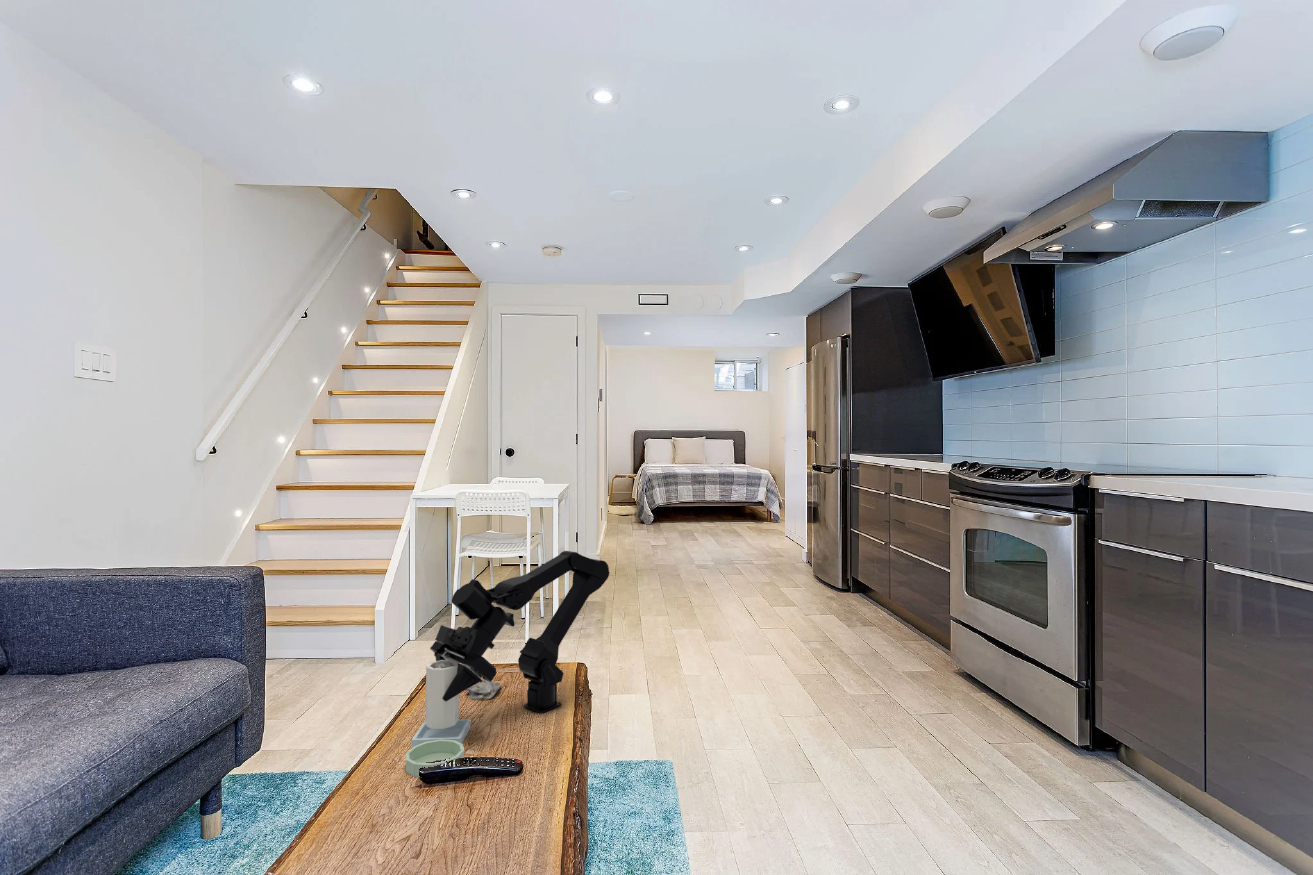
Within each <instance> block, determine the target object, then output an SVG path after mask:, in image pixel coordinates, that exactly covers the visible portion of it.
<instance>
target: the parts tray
mask: <svg viewBox="0 0 1313 875" xmlns="http://www.w3.org/2000/svg"><path fill="white" fill-rule="evenodd" d="M471 721H472V720H471V718H465V719H462V718H461V719H460V718H459V720H458V722H457V723H456V725H454V726H451V727H448V728H445V729H431V728H429V727H428V726H426V720H424V722H423V723H422V725H421V726H420V727H419V729H418V730H417V732H416V733H415V734H414V736H413V737H412V739H411V743H410V744H411V747H410V749H411V748H412V747H414V746H417V745H419V744H422V743H424V742H428V741H434V740H455V741H457V742H459V743H461V744H463V743H464V741H465V739H466V737H467V735H468V733H469V731H470V729H471V725H472V724H471Z"/></svg>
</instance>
